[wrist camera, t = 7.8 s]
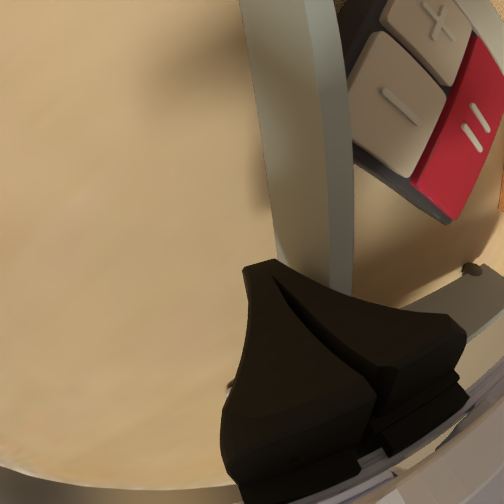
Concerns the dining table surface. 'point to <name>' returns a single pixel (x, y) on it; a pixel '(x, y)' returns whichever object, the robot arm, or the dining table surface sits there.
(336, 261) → the grey u-shaped barrier
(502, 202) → the bar
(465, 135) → the calculator
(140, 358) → the dining table surface
